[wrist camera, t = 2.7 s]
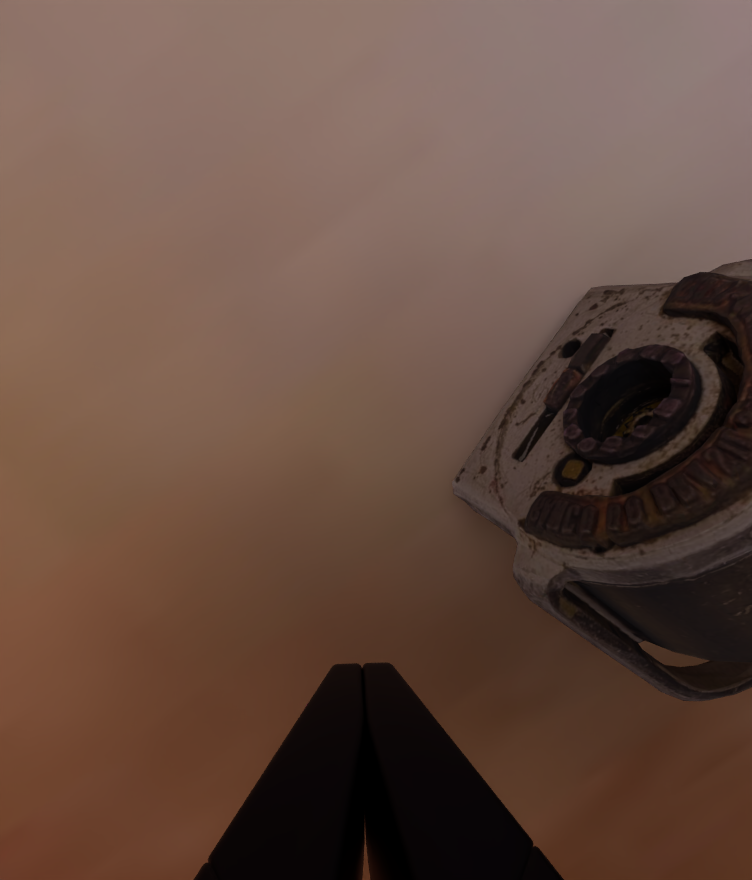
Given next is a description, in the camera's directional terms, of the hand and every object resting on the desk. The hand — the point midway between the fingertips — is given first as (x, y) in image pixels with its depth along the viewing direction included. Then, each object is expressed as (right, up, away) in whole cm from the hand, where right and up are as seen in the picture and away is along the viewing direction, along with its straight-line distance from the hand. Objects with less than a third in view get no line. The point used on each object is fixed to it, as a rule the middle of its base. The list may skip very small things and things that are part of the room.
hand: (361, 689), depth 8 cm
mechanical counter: (+8, +2, +7) cm, 11 cm away
